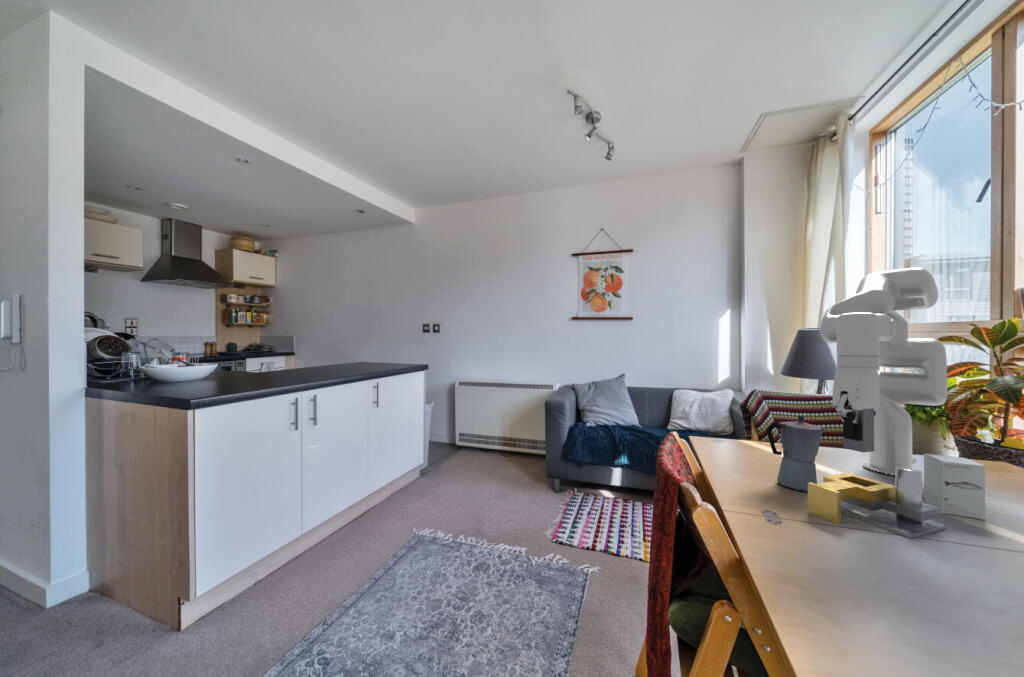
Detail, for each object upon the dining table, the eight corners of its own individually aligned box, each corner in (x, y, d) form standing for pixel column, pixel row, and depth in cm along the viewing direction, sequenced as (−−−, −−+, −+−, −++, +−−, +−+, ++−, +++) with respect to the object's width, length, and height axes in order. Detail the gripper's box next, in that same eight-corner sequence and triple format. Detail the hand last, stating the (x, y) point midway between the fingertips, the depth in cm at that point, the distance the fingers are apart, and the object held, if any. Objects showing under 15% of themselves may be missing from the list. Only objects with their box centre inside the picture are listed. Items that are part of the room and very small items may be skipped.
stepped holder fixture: (855, 498, 94) (854, 452, 94) (946, 528, 78) (945, 473, 78) (800, 509, 87) (799, 459, 87) (887, 544, 72) (886, 484, 72)
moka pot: (839, 494, 96) (838, 419, 97) (780, 493, 97) (780, 418, 97) (810, 480, 106) (809, 412, 106) (757, 479, 106) (757, 412, 107)
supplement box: (940, 513, 85) (939, 460, 86) (923, 501, 92) (922, 452, 92) (987, 521, 82) (986, 465, 82) (965, 508, 88) (964, 456, 89)
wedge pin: (853, 446, 89) (853, 402, 90) (874, 451, 86) (873, 405, 86) (843, 447, 88) (842, 403, 88) (863, 452, 84) (863, 405, 85)
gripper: (860, 362, 94) (861, 433, 93) (816, 362, 88) (817, 437, 88) (899, 364, 86) (900, 440, 86) (853, 364, 81) (854, 445, 81)
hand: (858, 438), depth 87 cm, fingers closed on wedge pin, 4 cm apart
